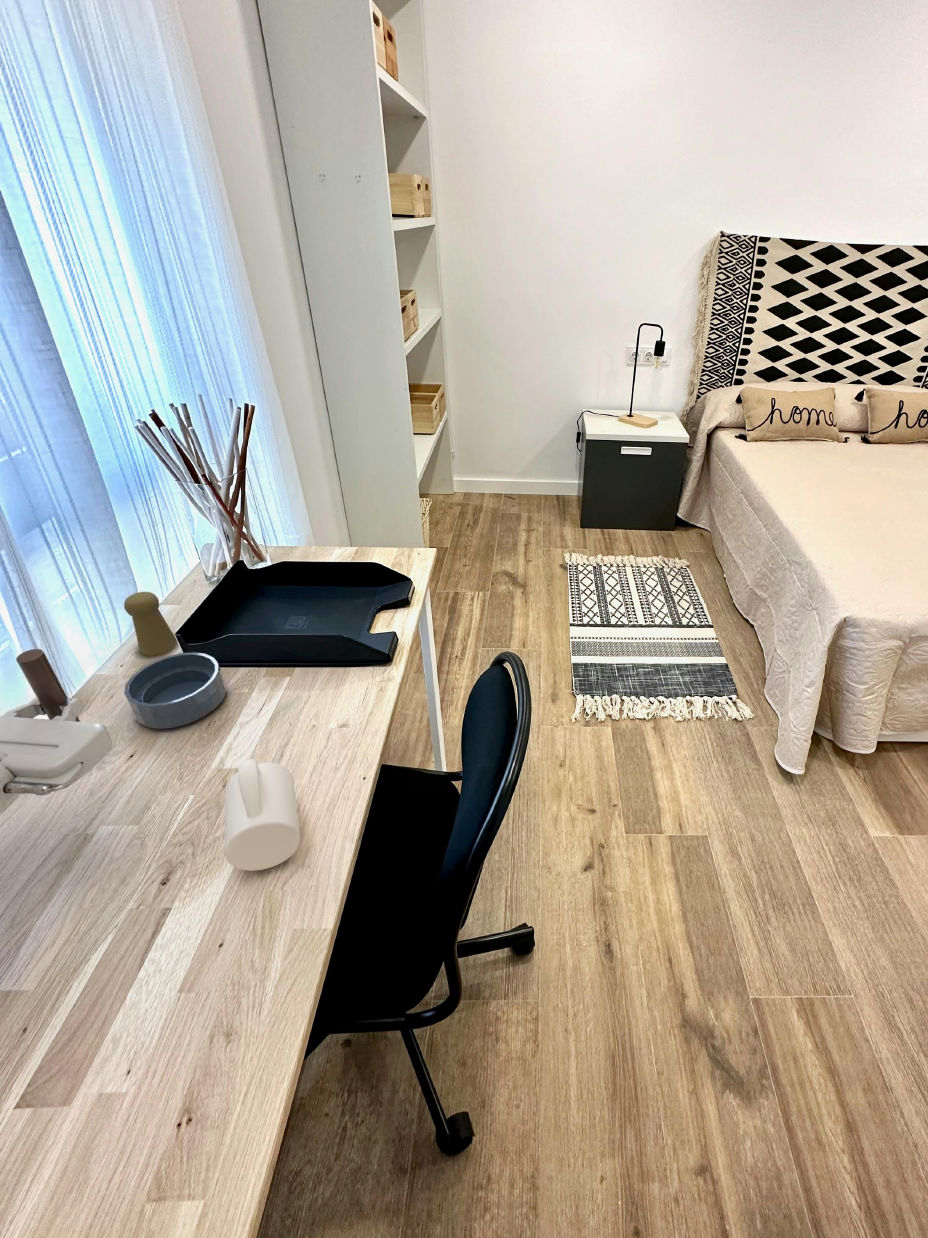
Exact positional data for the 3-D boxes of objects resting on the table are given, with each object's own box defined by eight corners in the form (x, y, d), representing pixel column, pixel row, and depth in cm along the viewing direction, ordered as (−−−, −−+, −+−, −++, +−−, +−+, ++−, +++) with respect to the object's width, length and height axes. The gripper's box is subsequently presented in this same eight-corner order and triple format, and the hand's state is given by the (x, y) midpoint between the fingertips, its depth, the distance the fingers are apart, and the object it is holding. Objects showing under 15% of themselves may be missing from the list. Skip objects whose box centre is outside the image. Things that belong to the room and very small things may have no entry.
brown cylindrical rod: (71, 770, 80) (10, 662, 71) (81, 755, 83) (24, 649, 73) (93, 768, 81) (35, 661, 71) (102, 753, 83) (47, 648, 73)
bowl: (121, 735, 94) (108, 709, 91) (156, 680, 105) (145, 655, 102) (212, 728, 96) (203, 702, 93) (237, 674, 107) (228, 649, 104)
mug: (234, 880, 74) (207, 816, 68) (234, 815, 82) (209, 752, 76) (306, 856, 77) (286, 793, 71) (299, 796, 85) (280, 733, 79)
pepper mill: (172, 632, 117) (154, 583, 111) (180, 647, 113) (161, 597, 107) (136, 644, 114) (115, 594, 108) (143, 660, 110) (121, 609, 104)
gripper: (46, 775, 63) (133, 687, 75) (-141, 760, 64) (-26, 676, 76) (70, 814, 67) (150, 724, 78) (-108, 800, 67) (-3, 713, 79)
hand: (62, 700), depth 77 cm, fingers closed on brown cylindrical rod, 2 cm apart
